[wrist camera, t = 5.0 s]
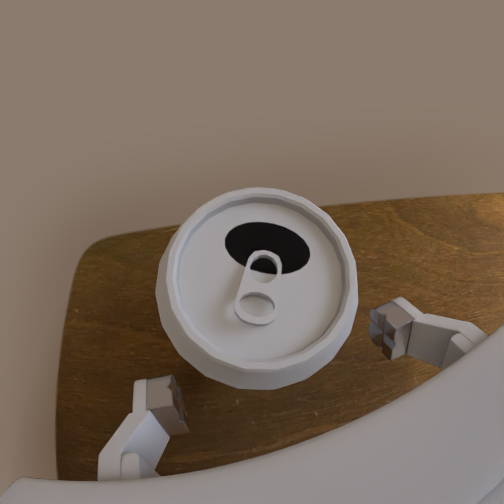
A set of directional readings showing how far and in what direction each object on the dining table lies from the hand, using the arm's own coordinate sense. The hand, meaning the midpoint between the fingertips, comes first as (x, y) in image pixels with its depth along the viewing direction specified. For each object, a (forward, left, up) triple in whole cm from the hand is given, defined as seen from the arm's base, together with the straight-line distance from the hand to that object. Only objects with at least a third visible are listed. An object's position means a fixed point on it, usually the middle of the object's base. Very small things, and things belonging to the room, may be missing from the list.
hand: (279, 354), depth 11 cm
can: (-1, +2, -9) cm, 10 cm away
